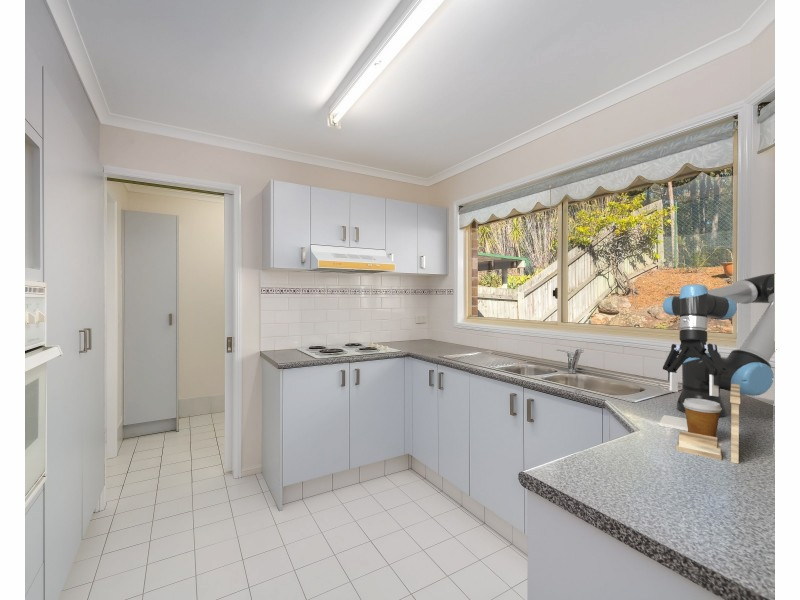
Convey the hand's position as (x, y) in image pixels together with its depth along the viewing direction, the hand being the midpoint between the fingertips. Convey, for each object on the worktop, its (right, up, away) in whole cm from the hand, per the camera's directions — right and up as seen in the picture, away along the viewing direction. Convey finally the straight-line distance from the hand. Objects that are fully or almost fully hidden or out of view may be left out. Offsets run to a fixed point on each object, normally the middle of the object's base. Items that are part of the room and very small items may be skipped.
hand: (692, 393), depth 127 cm
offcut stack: (-12, -13, -17) cm, 25 cm away
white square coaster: (+1, -12, +6) cm, 14 cm away
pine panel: (0, -13, -16) cm, 20 cm away
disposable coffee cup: (-3, -13, -8) cm, 16 cm away
